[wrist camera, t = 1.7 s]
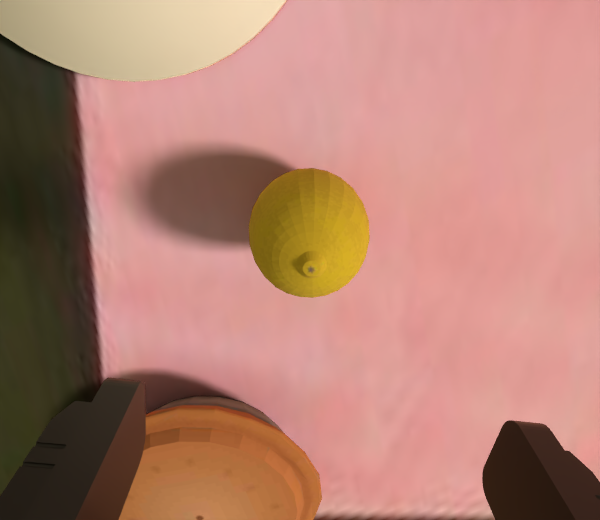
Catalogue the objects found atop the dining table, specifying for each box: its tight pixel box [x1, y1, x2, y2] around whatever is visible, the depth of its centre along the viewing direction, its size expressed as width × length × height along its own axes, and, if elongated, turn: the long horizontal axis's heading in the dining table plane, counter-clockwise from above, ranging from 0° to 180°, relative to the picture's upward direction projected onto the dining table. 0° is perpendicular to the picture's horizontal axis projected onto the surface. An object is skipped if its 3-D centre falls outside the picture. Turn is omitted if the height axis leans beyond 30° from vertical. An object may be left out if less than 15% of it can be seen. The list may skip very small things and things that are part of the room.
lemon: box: [249, 168, 369, 297], centre depth 20 cm, size 6×6×8 cm
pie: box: [119, 396, 322, 520], centre depth 30 cm, size 16×16×5 cm
